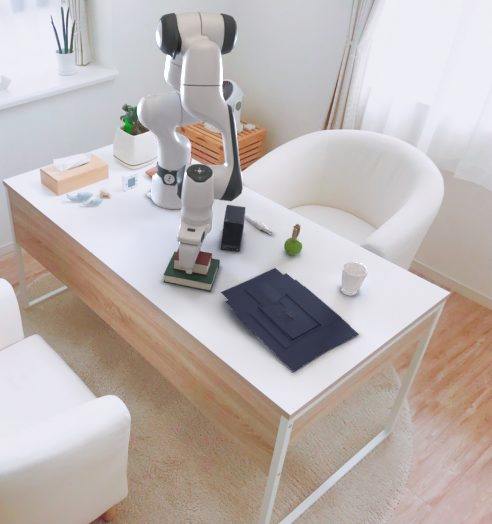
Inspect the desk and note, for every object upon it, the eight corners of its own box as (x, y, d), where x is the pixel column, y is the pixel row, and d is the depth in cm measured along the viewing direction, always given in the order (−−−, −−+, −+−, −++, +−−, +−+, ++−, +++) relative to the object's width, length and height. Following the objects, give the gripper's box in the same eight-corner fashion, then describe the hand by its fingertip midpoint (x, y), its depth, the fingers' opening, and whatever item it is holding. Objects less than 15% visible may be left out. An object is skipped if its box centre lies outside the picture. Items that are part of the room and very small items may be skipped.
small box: (240, 252, 180) (244, 223, 174) (219, 249, 181) (222, 221, 175) (242, 233, 188) (246, 206, 182) (222, 231, 189) (225, 204, 183)
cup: (331, 292, 164) (337, 269, 159) (346, 275, 171) (352, 253, 166) (355, 302, 161) (362, 279, 156) (369, 284, 167) (376, 262, 162)
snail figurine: (280, 257, 178) (286, 224, 171) (285, 246, 182) (291, 214, 175) (297, 261, 176) (304, 228, 169) (302, 251, 181) (309, 218, 173)
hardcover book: (174, 259, 177) (174, 251, 175) (219, 267, 173) (219, 259, 171) (163, 282, 167) (163, 274, 166) (210, 291, 164) (211, 283, 162)
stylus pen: (275, 234, 188) (276, 229, 187) (269, 237, 187) (270, 232, 186) (243, 214, 198) (243, 210, 197) (237, 217, 197) (238, 212, 195)
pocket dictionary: (178, 258, 172) (178, 247, 170) (211, 264, 170) (212, 253, 167) (173, 269, 167) (173, 258, 165) (206, 276, 165) (207, 264, 163)
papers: (277, 272, 169) (280, 263, 167) (356, 340, 152) (360, 331, 149) (213, 301, 158) (215, 292, 156) (290, 379, 141) (293, 369, 138)
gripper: (193, 202, 168) (190, 242, 176) (175, 239, 152) (173, 281, 160) (214, 206, 167) (211, 245, 175) (199, 243, 151) (195, 285, 159)
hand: (193, 263), depth 167 cm, fingers open, 8 cm apart
